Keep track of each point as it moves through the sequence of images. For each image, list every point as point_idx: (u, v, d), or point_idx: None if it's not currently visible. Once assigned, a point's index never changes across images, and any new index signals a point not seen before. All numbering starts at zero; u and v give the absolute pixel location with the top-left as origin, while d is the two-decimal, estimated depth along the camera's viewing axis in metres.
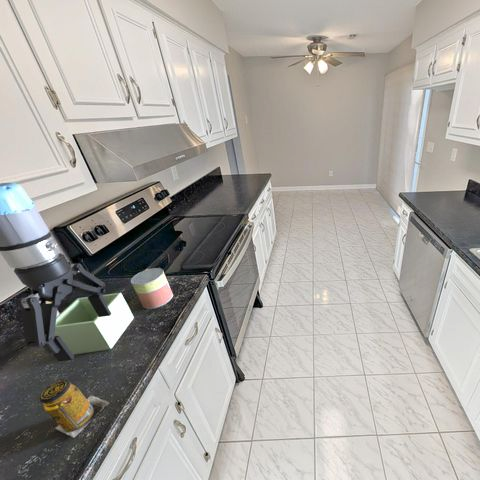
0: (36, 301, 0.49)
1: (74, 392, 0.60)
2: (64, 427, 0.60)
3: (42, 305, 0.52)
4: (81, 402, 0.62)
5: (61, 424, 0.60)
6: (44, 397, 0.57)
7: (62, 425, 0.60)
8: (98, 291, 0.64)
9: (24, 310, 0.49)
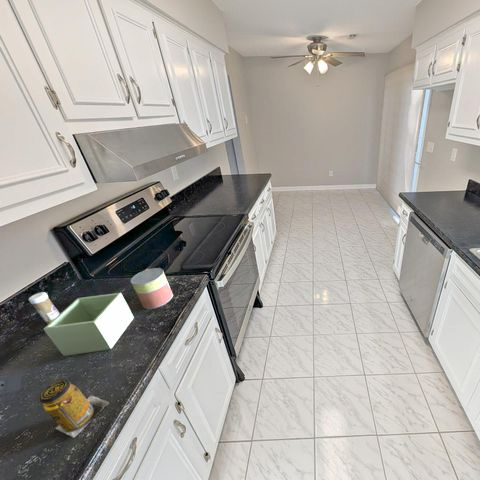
0: None
1: (74, 392, 0.60)
2: (64, 427, 0.60)
3: None
4: (81, 402, 0.62)
5: (61, 424, 0.60)
6: (44, 397, 0.57)
7: (62, 425, 0.60)
8: None
9: None
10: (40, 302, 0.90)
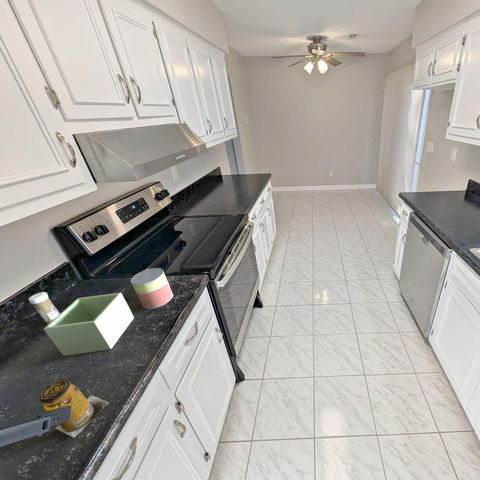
0: None
1: (74, 392, 0.60)
2: (64, 427, 0.60)
3: None
4: (81, 402, 0.62)
5: (61, 424, 0.60)
6: (44, 397, 0.57)
7: (62, 425, 0.60)
8: None
9: None
10: (40, 302, 0.90)
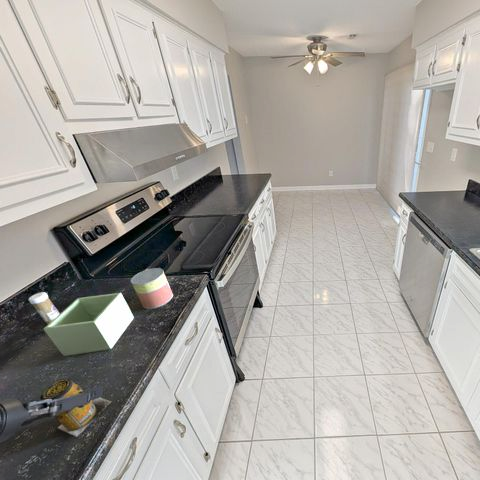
0: None
1: (76, 392, 0.61)
2: (67, 426, 0.61)
3: None
4: None
5: (64, 423, 0.60)
6: (46, 396, 0.57)
7: (65, 424, 0.60)
8: None
9: None
10: (40, 302, 0.90)
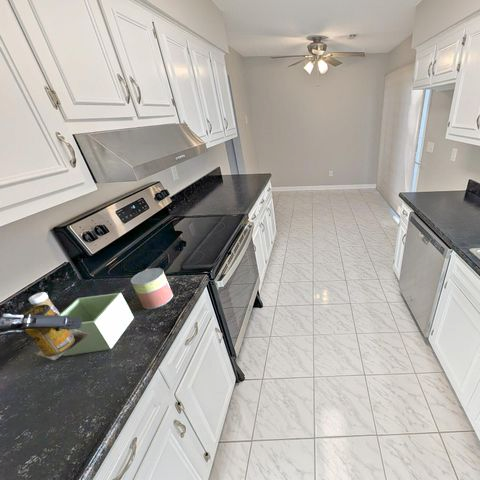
0: None
1: None
2: (44, 350, 0.62)
3: None
4: None
5: (41, 347, 0.61)
6: None
7: (42, 348, 0.61)
8: (54, 327, 0.60)
9: None
10: (40, 302, 0.90)
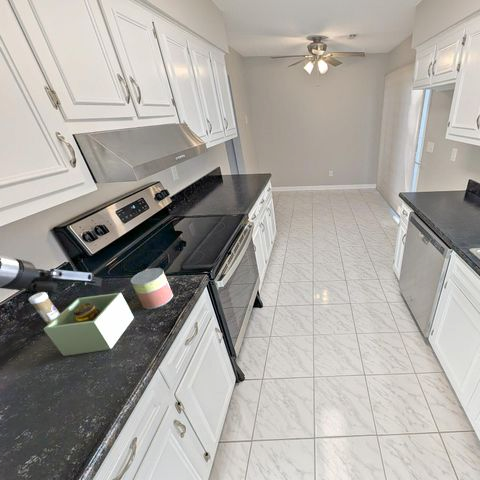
0: None
1: (97, 310, 0.86)
2: None
3: None
4: None
5: None
6: (77, 311, 0.82)
7: None
8: (82, 282, 0.76)
9: None
10: (40, 302, 0.90)
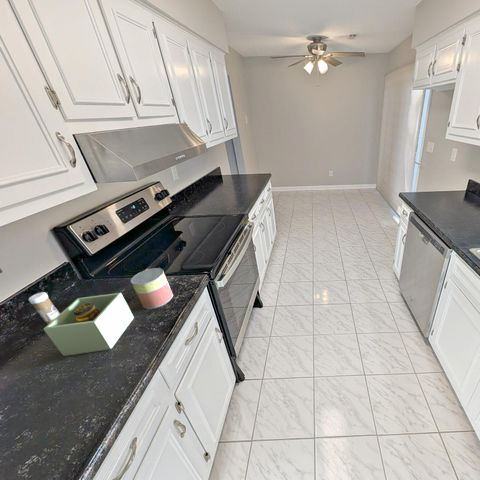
0: None
1: (97, 310, 0.86)
2: None
3: None
4: None
5: None
6: (77, 311, 0.82)
7: None
8: None
9: None
10: (40, 302, 0.90)
